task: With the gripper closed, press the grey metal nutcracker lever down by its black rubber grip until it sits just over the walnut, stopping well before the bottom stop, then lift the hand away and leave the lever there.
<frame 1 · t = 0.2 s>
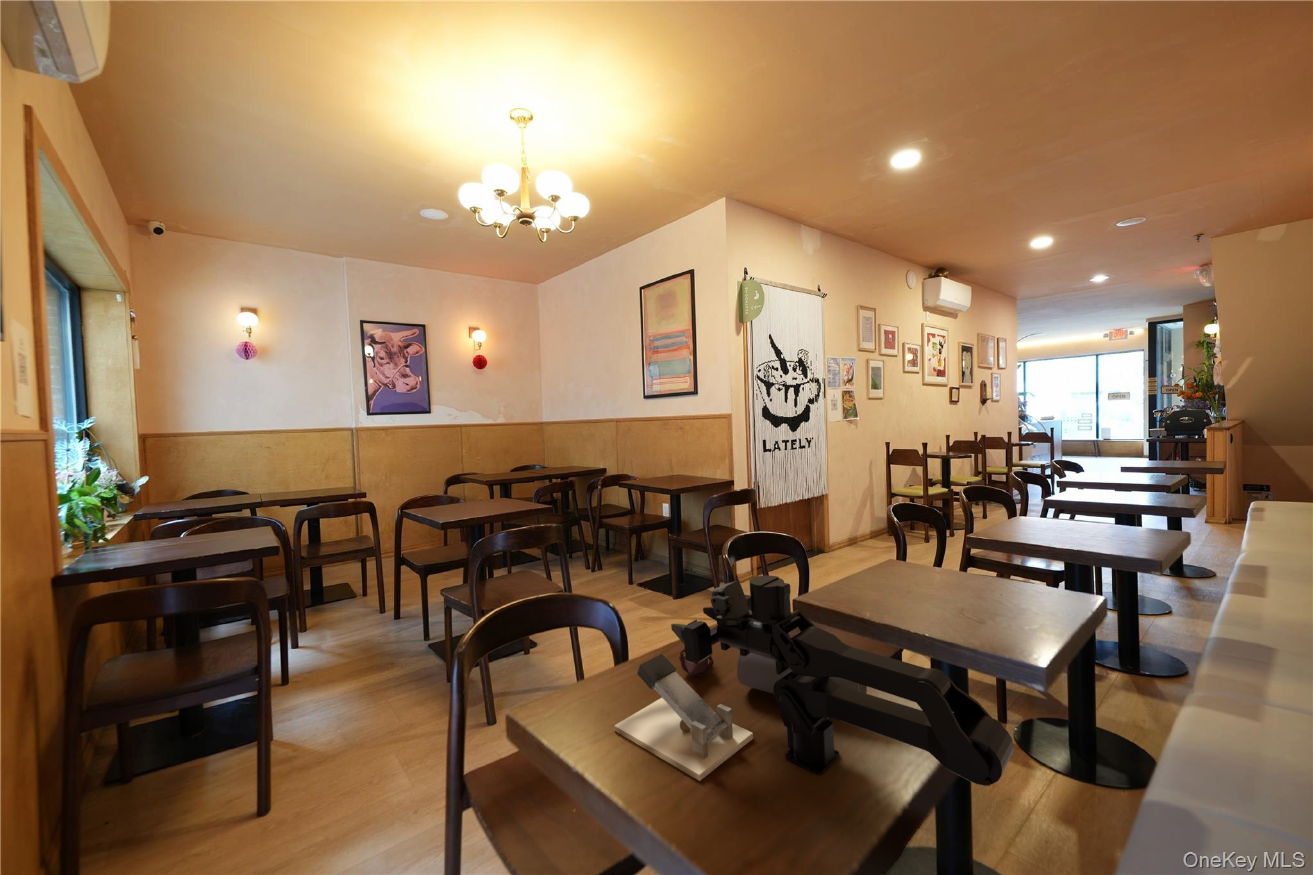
hand: (688, 618, 104), 17 cm above the table, tool horizontal, fingers open, 9 cm apart
lever: (681, 697, 95), point 7 cm above the table, hinge at 26.0°
bluetooth speaker: (801, 701, 104), on the table
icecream: (697, 675, 117), on the table
nutcracker board: (682, 734, 95), on the table
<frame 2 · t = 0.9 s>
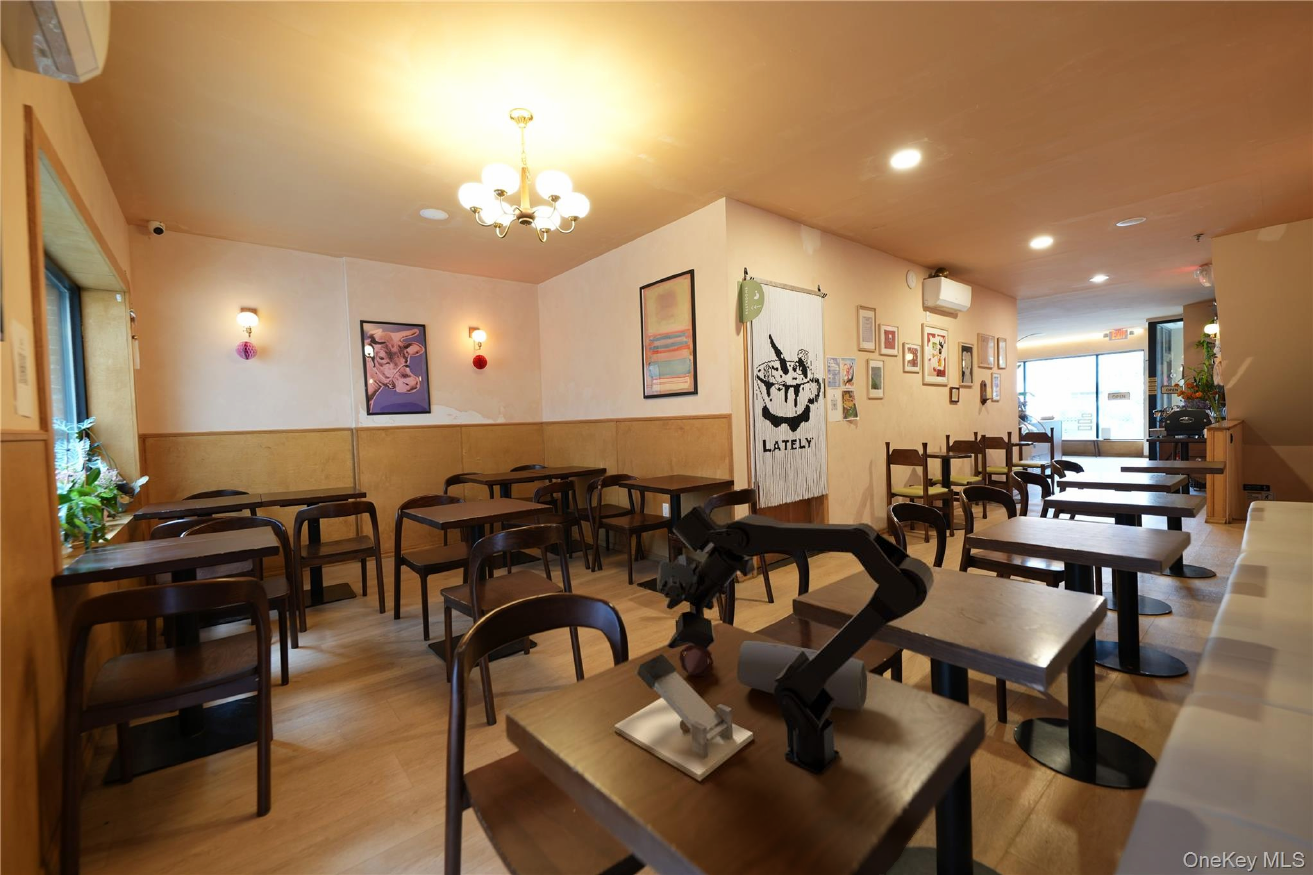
hand: (669, 626, 102), 16 cm above the table, tool tilted 40°, fingers open, 9 cm apart
nothing on the table moved.
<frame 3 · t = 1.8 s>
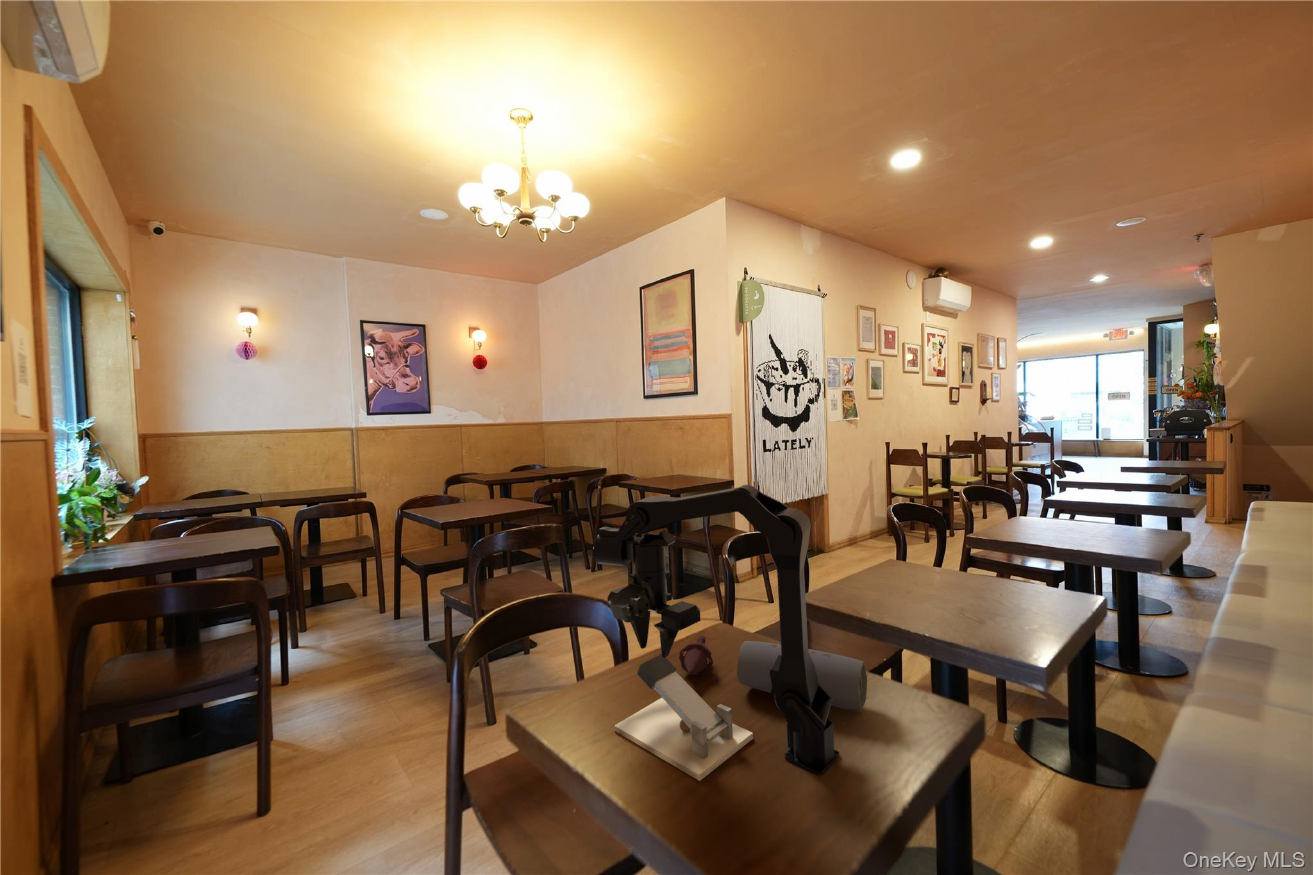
hand: (654, 652, 99), 13 cm above the table, tool pointing down, fingers open, 5 cm apart
nothing on the table moved.
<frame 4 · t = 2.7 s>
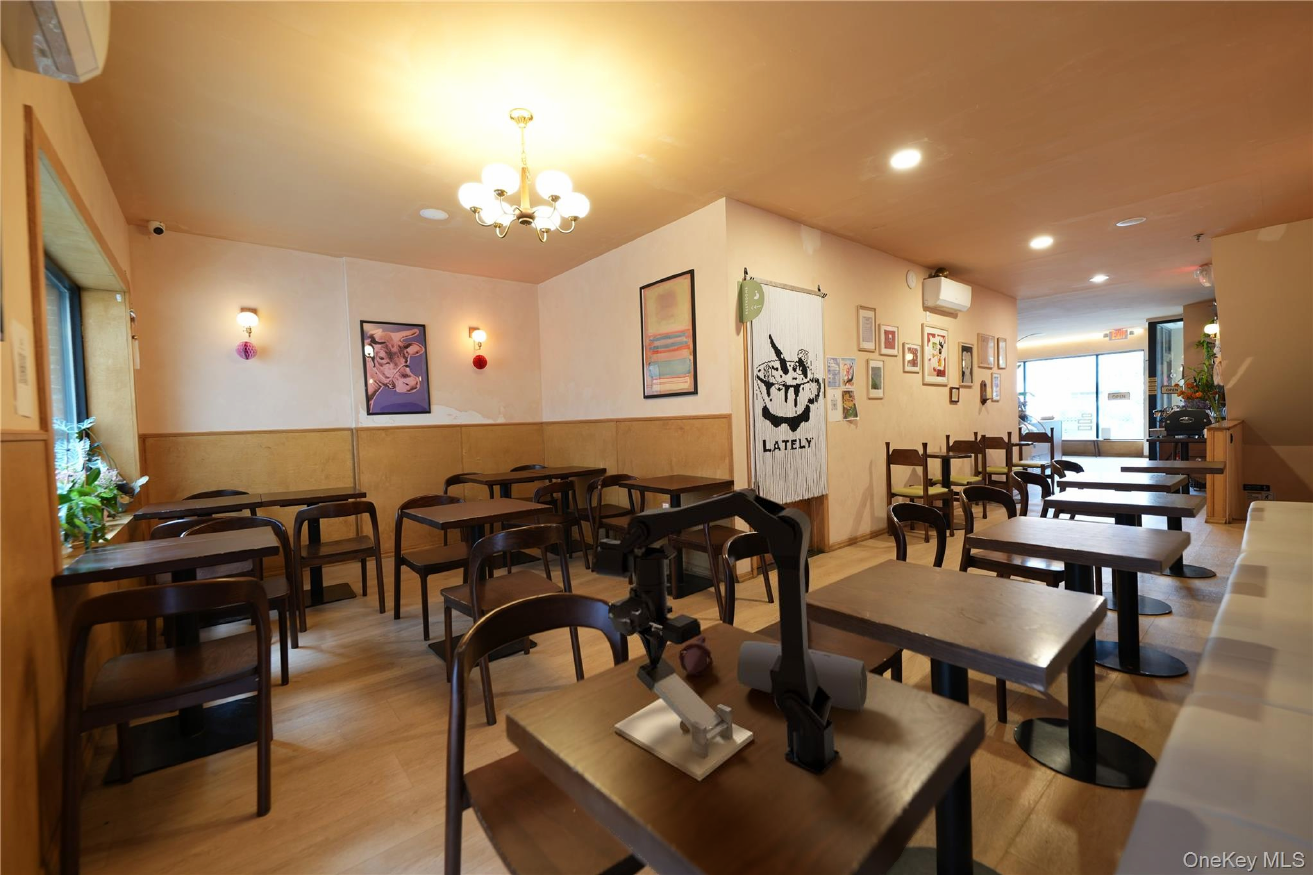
hand: (654, 664, 99), 11 cm above the table, tool pointing down, fingers closed
lever: (681, 698, 95), point 7 cm above the table, hinge at 24.2°, touching gripper
everything else where it was.
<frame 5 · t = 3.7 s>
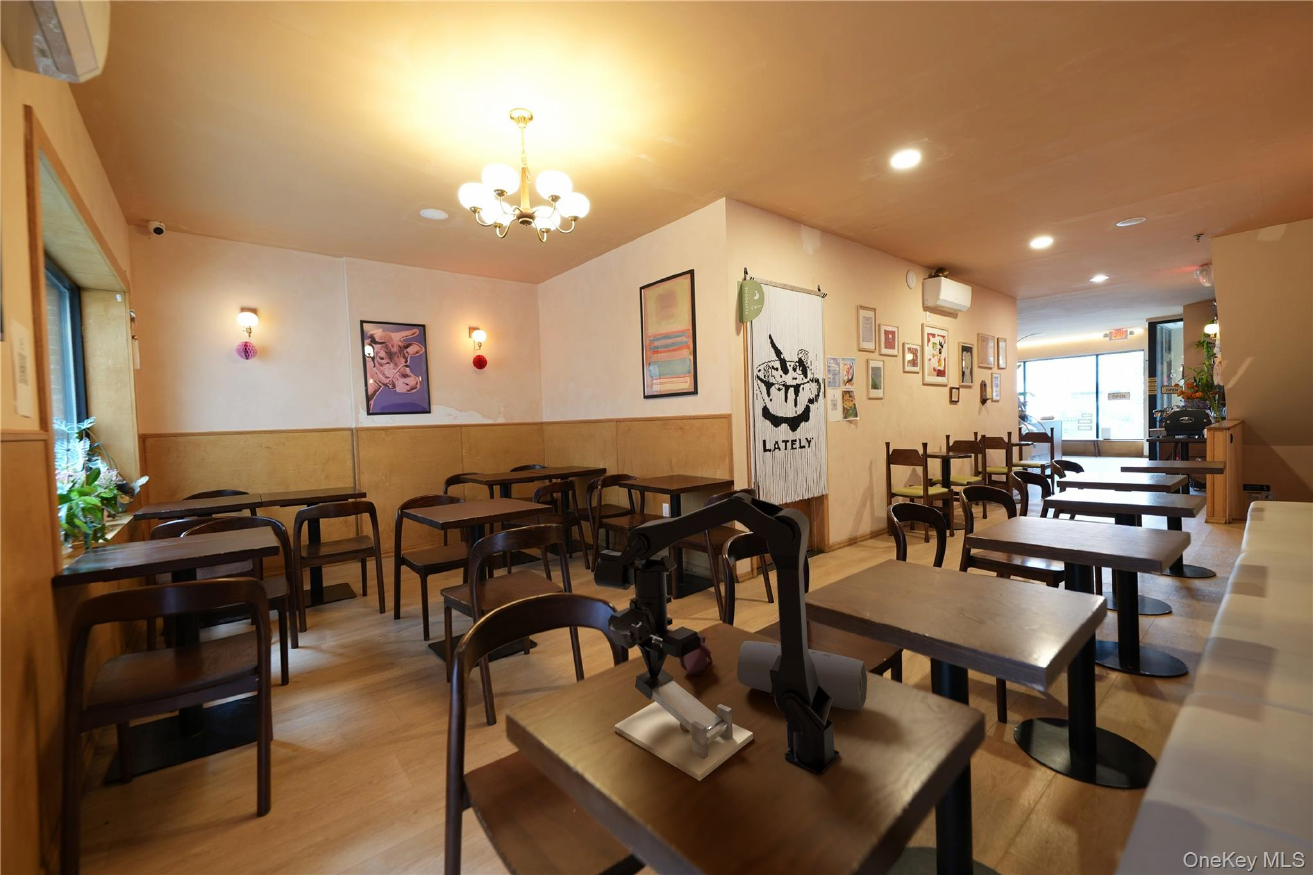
hand: (654, 676, 99), 8 cm above the table, tool pointing down, fingers closed
lever: (679, 703, 95), point 6 cm above the table, hinge at 16.0°, touching gripper
everything else where it was.
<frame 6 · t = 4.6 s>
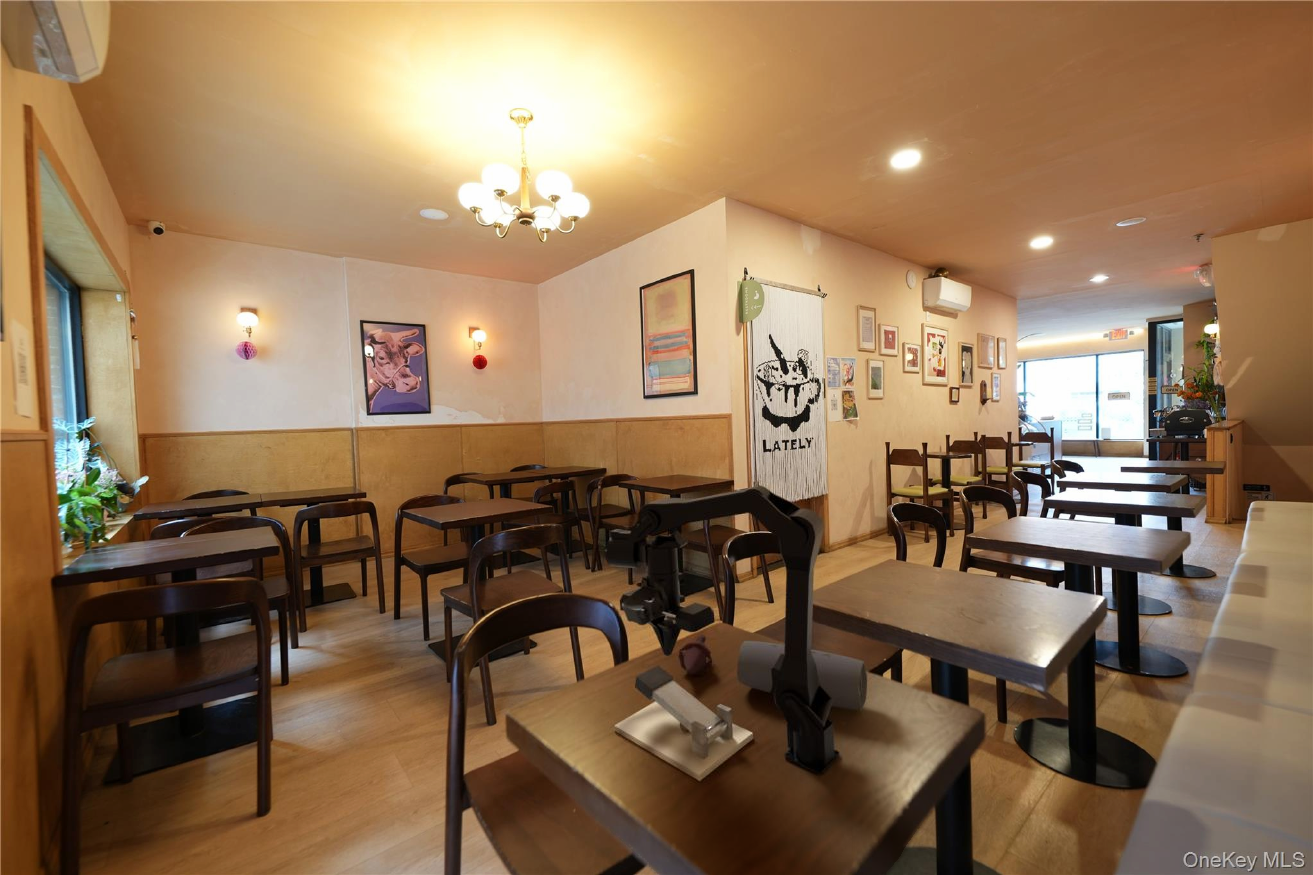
hand: (667, 654, 99), 13 cm above the table, tool pointing down, fingers closed
lever: (679, 703, 95), point 6 cm above the table, hinge at 15.9°
everything else where it was.
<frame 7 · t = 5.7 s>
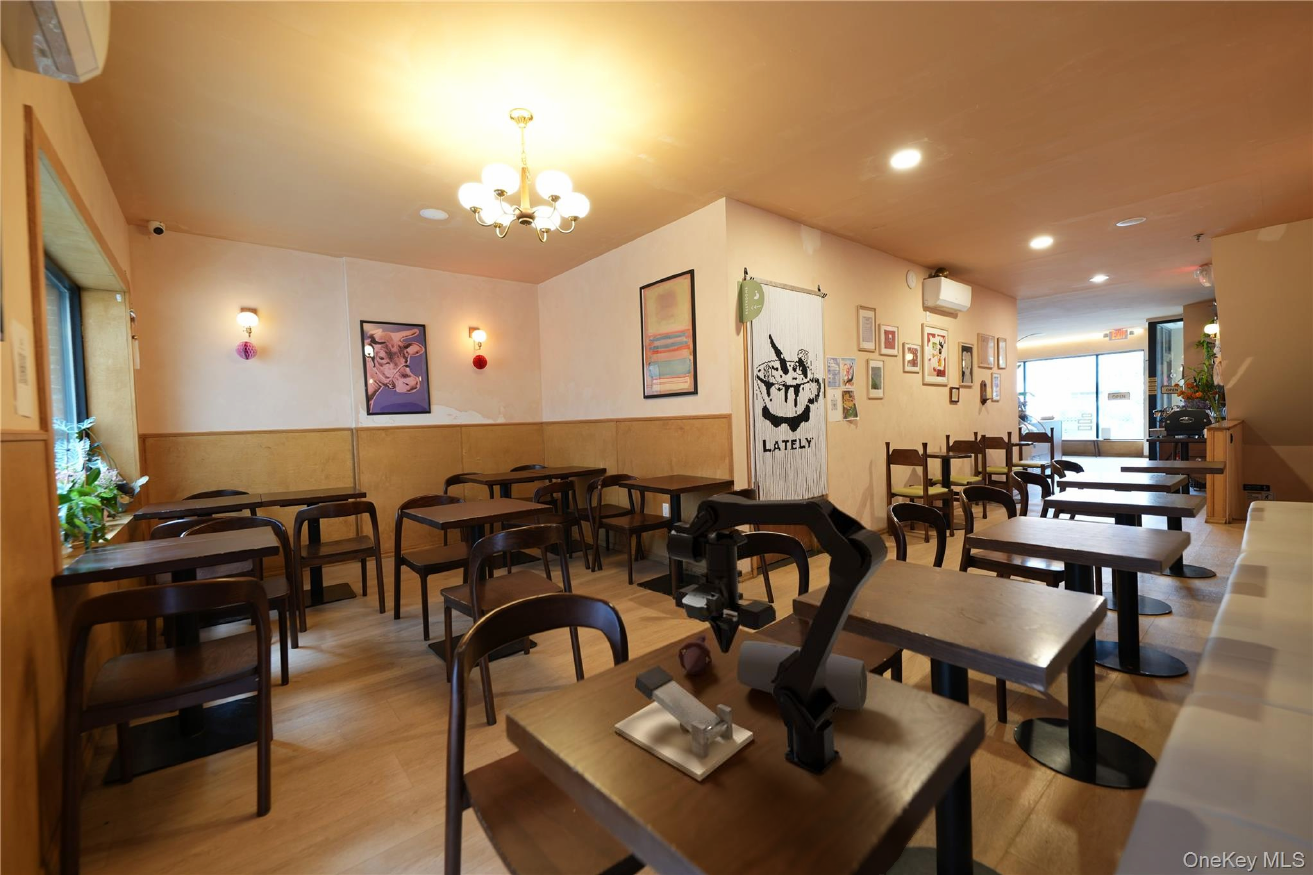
hand: (725, 652, 97), 13 cm above the table, tool pointing down, fingers closed
nothing on the table moved.
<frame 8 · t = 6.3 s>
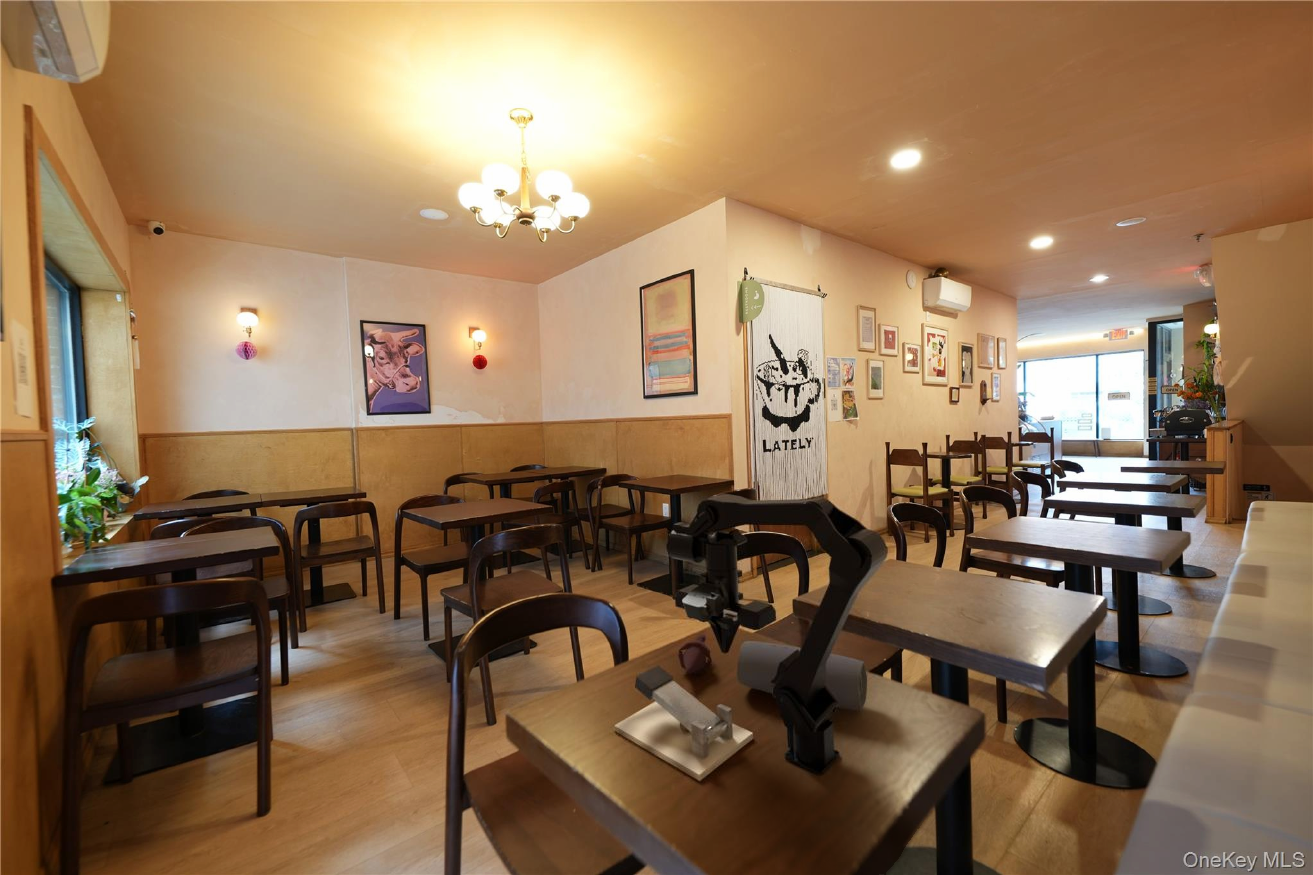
hand: (725, 652, 97), 13 cm above the table, tool pointing down, fingers closed
at the end: lever at +16° (first picture: +26°); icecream moved 1.2 cm from its start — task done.
